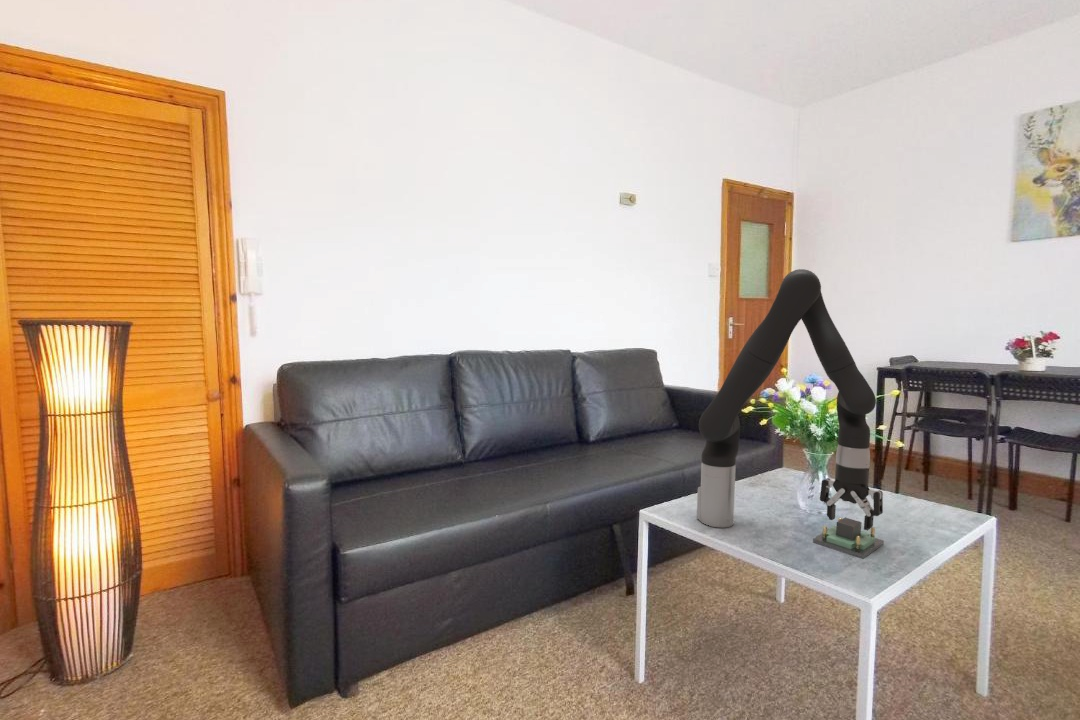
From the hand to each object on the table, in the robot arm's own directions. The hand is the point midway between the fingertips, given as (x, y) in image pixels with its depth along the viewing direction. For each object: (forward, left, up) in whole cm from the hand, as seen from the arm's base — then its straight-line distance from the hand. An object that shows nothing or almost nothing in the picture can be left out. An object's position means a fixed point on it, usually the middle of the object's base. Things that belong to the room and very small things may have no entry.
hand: (849, 524), depth 142 cm
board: (0, 0, -4) cm, 4 cm away
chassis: (0, 0, -5) cm, 5 cm away
